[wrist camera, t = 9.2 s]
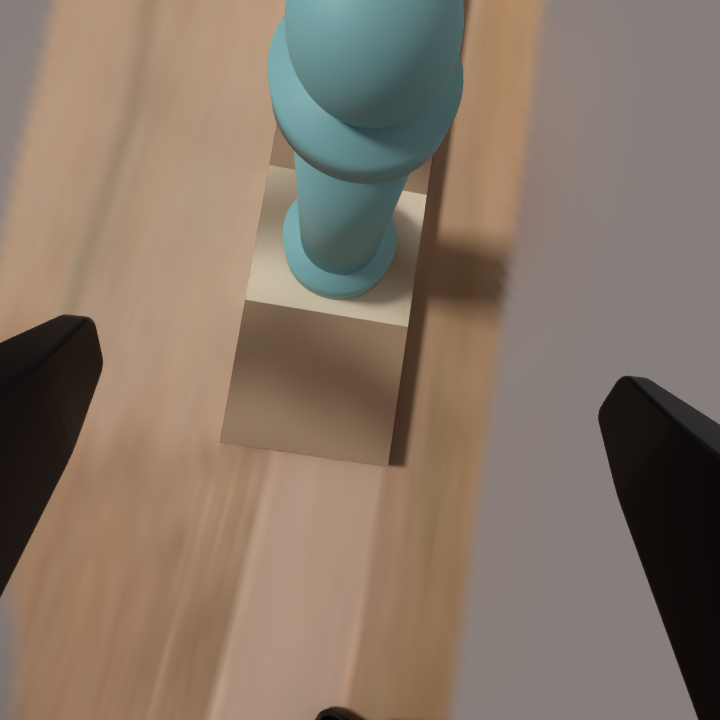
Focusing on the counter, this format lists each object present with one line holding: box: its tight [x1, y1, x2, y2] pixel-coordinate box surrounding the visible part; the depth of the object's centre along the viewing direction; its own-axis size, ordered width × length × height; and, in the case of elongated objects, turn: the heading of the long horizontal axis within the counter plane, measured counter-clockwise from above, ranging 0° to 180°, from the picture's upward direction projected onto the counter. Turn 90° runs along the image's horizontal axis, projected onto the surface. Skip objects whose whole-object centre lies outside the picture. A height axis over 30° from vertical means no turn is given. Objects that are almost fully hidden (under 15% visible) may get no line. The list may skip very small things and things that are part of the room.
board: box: [220, 124, 432, 467], centre depth 22 cm, size 24×7×1 cm, turn 171°
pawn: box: [268, 0, 464, 300], centre depth 14 cm, size 5×5×14 cm
